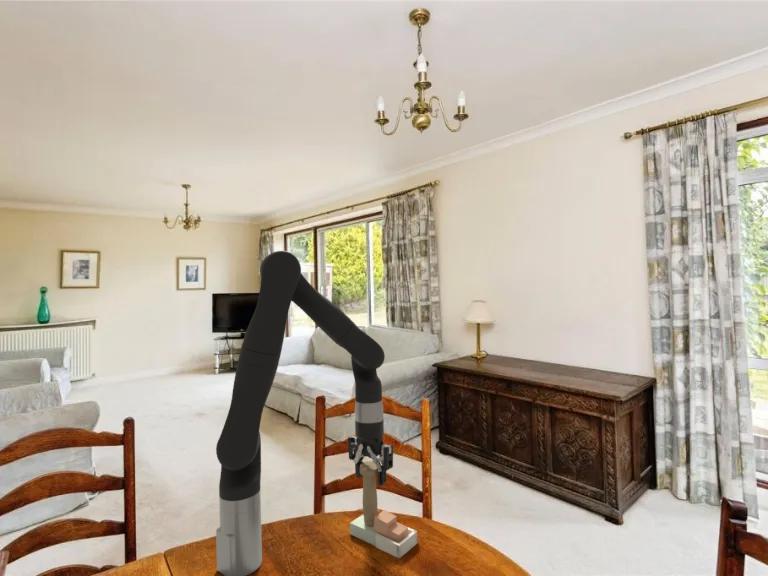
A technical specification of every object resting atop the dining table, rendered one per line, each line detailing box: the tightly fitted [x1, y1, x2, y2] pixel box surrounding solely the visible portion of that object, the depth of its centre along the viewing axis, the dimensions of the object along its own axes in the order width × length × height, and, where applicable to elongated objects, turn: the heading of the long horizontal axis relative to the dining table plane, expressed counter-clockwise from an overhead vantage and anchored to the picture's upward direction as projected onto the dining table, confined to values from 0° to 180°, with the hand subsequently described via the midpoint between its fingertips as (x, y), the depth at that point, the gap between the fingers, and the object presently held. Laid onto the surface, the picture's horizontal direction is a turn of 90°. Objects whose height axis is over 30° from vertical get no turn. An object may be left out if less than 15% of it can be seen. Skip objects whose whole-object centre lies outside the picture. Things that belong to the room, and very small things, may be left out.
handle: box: [360, 460, 378, 526], centre depth 109 cm, size 5×6×15 cm
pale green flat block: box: [349, 514, 386, 547], centre depth 109 cm, size 6×9×3 cm, turn 51°
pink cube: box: [374, 509, 397, 537], centre depth 105 cm, size 4×4×4 cm
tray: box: [375, 527, 418, 559], centre depth 104 cm, size 8×7×3 cm
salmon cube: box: [387, 521, 409, 543], centre depth 103 cm, size 4×4×4 cm
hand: (370, 480), depth 109 cm, fingers open, 7 cm apart
